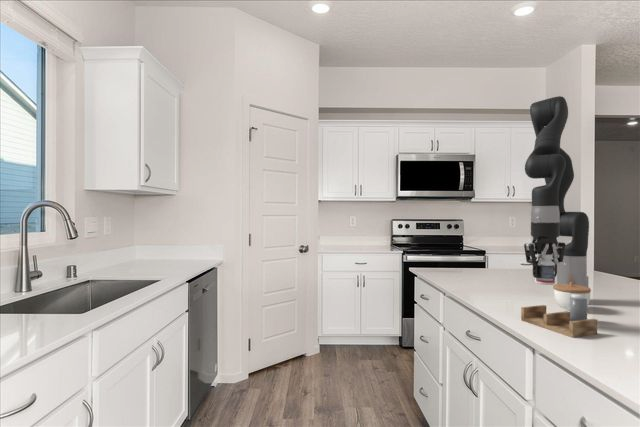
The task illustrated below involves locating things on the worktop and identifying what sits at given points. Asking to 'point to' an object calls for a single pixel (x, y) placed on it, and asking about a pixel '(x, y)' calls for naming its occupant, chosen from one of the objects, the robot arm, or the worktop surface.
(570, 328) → the rack
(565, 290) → the lidded jar
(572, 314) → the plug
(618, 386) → the worktop surface
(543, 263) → the pill bottle
